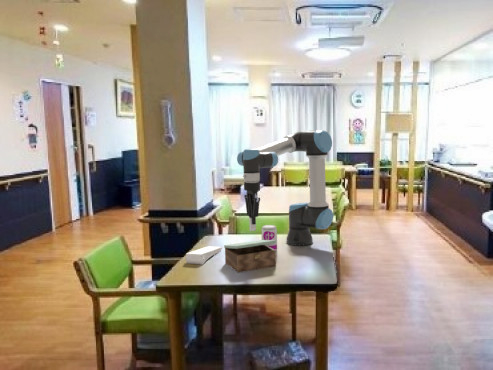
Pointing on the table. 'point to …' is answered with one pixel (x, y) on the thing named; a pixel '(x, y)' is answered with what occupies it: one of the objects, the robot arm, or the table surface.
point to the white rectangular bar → (201, 254)
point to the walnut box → (250, 258)
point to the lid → (250, 244)
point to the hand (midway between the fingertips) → (252, 230)
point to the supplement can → (270, 235)
